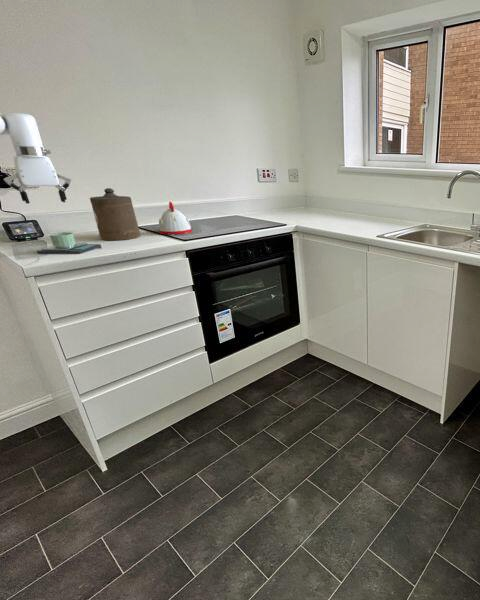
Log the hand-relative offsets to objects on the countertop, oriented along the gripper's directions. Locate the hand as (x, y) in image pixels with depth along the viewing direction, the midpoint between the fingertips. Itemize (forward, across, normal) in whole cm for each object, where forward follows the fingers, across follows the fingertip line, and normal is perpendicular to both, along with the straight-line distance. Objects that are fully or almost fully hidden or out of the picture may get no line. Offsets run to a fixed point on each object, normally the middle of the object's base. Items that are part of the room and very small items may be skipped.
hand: (46, 202), depth 129 cm
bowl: (+16, -1, +4) cm, 16 cm away
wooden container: (+19, -24, -17) cm, 35 cm away
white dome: (+18, -46, -15) cm, 52 cm away
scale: (+19, -2, +5) cm, 20 cm away
